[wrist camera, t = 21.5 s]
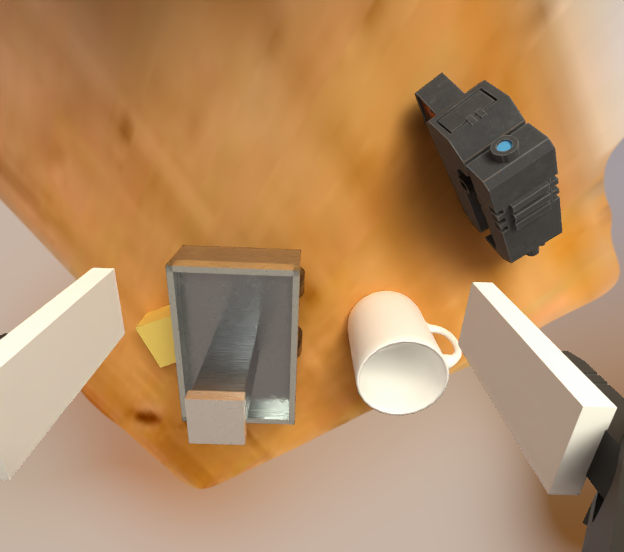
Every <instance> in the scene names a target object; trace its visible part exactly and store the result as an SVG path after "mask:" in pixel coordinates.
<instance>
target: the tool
mask: <svg viewBox="0 0 624 552" xmlns="http://www.w3.org/2000/svg"><path fill="white" fill-rule="evenodd" d="M415 96H416V99H417V102H418V105H419V107H420V110H421V113H422V115H423V118H424V121H425V124H426V126H427V128H428V130H429V132H430V134H431V137H432V139H433V141H434V143H435V146H436V148H437V150H438V152H439V155H440V157H441V159H442V161H443V164H444V166H445V168H446V170H447V173H448V175H449V177H450V179H451V182H452V184H453V186H454V188H455V191H456V193H457V195H458V197H459V200H460V202H461V204H462V206H463V209H464V211H465V213H466V215H467V217H468V218H469V220H470V221H471V223H472V224H473V225H474V226H475V227H476V228H477V230H478V231H479V232H480V233H482V232H483V231H485V230H486V229H488V228H490V231H491V234H490V235H489V236H487V237H486V240H487V241H488V242H489V243H490V244H491V245H492V247H493V248H494V249H495V250H496V251H497V252H498V253H499V254H500V256H501V257H502V258H503V259H505V260H507V261H508V262H510V263H513V262H514V261H516V260H517V259H519V258H521V257H522V256H524V255H528V256H535V255H537V254H538V253H539V246H540V245H541V246H543V245H545V242H547V241H549V240H550V239H552V238H554V237H555V236H557V235H558V234H560V233H562V222H561V209H560V197H558V196H557V195H556V194H558V193H559V188H558V187H556V186H555V185H556V184H558V178H557V177H556V176H555V175H556V174H558V171H557V162H556V152H555V147H554V145H553V144H552V142H551V141H550V139H549V138H548V137H547V136H546V135H544V134H543V133H541V132H540V131H539V130H537V129H536V128H535V127H533V126H532V125H531V124H529V123H527V124H526V123H525V120H524V118H523V116H522V115H521V113H520V112H519V110H518V109H517V107H516V106H515V104H514V103H513V101H512V100H511V98H510V97H509V96H508V95H507V94H505V93H504V92H502V91H500V90H499V89H497V88H496V87H494V86H493V85H491V84H490V83H488V82H487V81H485V80H484V81H482V82H480V83H479V84H477V85H476V86H475V87H473V88H472V89H471V90H469V91H468V92H467V93H463V92H462V91H461V90H460V89H459V88H458V87H457V86H456V85H455V84H454V83H453V82H452V81H451V80H449V79H448V78H447V77H446V76H445V75H444V74H443V73H441V74H439V75H438V76H437V77H436V78H434V79H433V80H432V81H430V82H429V83H428V84H426V85H425V86H424V87H422V88H421V89H420V90H419V91H417V92H416V93H415Z"/></svg>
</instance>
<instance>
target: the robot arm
mask: <svg viewBox="0 0 624 552" xmlns="http://www.w3.org/2000/svg"><path fill="white" fill-rule="evenodd" d="M124 334H125V331H124V325H123V319H122V312H121V306H120V300H119V294H118V288H117V282H116V276H115V270H114V268H92V269H91V270H89V271H88V272H87V273H86V274H84V275H83V276H82V277H80V278H79V279H78V280H77V281H75V282H74V283H73V284H71V285H70V286H69V287H68V288H66V289H65V290H64V291H62V292H61V293H60V294H59V295H57V296H56V297H55V298H54V299H52V300H51V301H50V302H48V303H47V304H46V305H44V306H43V307H42V308H41V309H39V310H38V311H37V312H35V313H34V314H33V315H32V316H30V317H29V318H28V319H26V320H25V321H24V322H23V323H21V324H20V325H19V326H17V327H16V328H15V329H14V330H12V331H11V332H10V333H5V334H3V335H0V480H10V479H11V478H12V477H13V475H14V474H15V473H16V471H17V470H18V469H19V468H20V467H21V465H22V464H23V463H24V462H25V460H26V459H27V458H28V456H29V455H30V454H31V453H32V451H33V450H34V449H35V448H36V446H37V445H38V444H39V442H40V441H41V440H42V439H43V437H44V436H45V435H46V434H47V432H48V431H49V430H50V428H51V427H52V426H53V425H54V423H55V422H56V421H57V420H58V418H59V417H60V416H61V414H62V413H63V412H64V411H65V409H66V408H67V407H68V406H69V404H70V403H71V402H72V400H73V399H74V398H75V397H76V395H77V394H78V393H79V392H80V390H81V389H82V388H83V386H84V385H85V384H86V383H87V381H88V380H89V379H90V378H91V376H92V375H93V374H94V372H95V371H96V370H97V369H98V367H99V366H100V365H101V364H102V362H103V361H104V360H105V358H106V357H107V356H108V355H109V353H110V352H111V351H112V350H113V348H114V347H115V346H116V345H117V343H118V342H119V341H120V339H121V338H122V337H123V336H124ZM458 346H459V347H460V349H461V351H462V352H463V354H464V356H465V357H466V359H467V361H468V362H469V364H470V366H471V367H472V369H473V370H474V372H475V374H476V375H477V377H478V379H479V380H480V382H481V384H482V385H483V387H484V389H485V390H486V392H487V393H488V395H489V397H490V399H491V400H492V402H493V403H494V405H495V407H496V408H497V410H498V412H499V413H500V415H501V417H502V418H503V420H504V422H505V423H506V425H507V427H508V428H509V430H510V431H511V433H512V435H513V436H514V438H515V440H516V441H517V443H518V445H519V446H520V448H521V450H522V451H523V453H524V455H525V456H526V458H527V460H528V461H529V463H530V464H531V466H532V468H533V469H534V471H535V473H536V474H537V476H538V478H539V479H540V481H541V483H542V484H543V486H544V488H545V489H546V491H547V492H548V494H562V495H579V494H580V491H581V489H582V487H583V484H584V482H585V480H586V478H587V477H588V479H589V480H590V481H591V483H592V484H593V485H594V487H595V488H596V490H597V493H596V495H595V497H594V499H593V502H592V504H591V506H590V508H589V510H588V513H587V514H586V517H585V519H584V521H583V523H584V524H586V525H587V530H586V534H585V539H584V544H583V548H582V552H624V398H623V397H622V396H621V395H620V394H619V393H618V392H617V391H615V390H614V389H613V388H612V387H611V386H610V385H607V382H606V381H605V380H604V379H603V378H602V377H601V376H599V375H597V372H595V371H594V370H593V369H592V368H591V367H590V366H589V365H588V364H587V363H586V362H585V361H583V360H581V359H580V358H578V357H577V356H575V355H573V354H572V353H570V352H568V351H560V350H559V349H558V348H557V347H556V346H555V345H554V344H553V343H552V342H551V341H550V340H549V339H548V338H547V337H546V336H545V335H544V334H543V333H542V332H541V331H540V330H539V329H538V328H537V327H536V326H535V325H534V324H533V323H532V322H531V321H530V320H529V319H528V318H527V317H526V316H525V315H524V314H523V313H522V312H521V311H520V310H519V309H518V308H517V307H516V306H515V305H514V304H513V303H512V302H511V301H510V300H509V299H508V298H507V297H506V296H505V295H504V294H503V293H502V292H501V291H500V290H499V289H498V288H497V287H496V286H495V285H494V284H493V283H486V282H472V284H471V289H470V293H469V298H468V302H467V307H466V311H465V316H464V320H463V325H462V329H461V334H460V339H459V343H458Z"/></svg>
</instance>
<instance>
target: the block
mask: <svg viewBox="0 0 624 552" xmlns="http://www.w3.org/2000/svg"><path fill="white" fill-rule="evenodd" d="M135 329H136V330H137V332H138V333H139V335H140V337H141V338H142V340H143V341H144V343H145V344H146V346H147V348H148V349H149V351H150V352H151V354H152V355H153V357H154V358H155V360H156V362H157V363H158V365H159V366H160V368H161V367H164V366H167V365H170V364H173V363H176V358H175V349H174V339H173V330H172V321H171V312H170V305H167V306H164V307H161V308H159V309H156V310H153V311H150V312H147V313H146V315H145V316H144V317H143V319H142V320H141V321H140V323H139V324H138V325H137V327H136V328H135Z"/></svg>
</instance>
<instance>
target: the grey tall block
mask: <svg viewBox="0 0 624 552" xmlns="http://www.w3.org/2000/svg"><path fill="white" fill-rule="evenodd" d="M257 364H258V327H233V326H218V327H217V329H216V332H215V334H214V337H213V339H212V342H211V344H210V347H209V349H208V351H207V354H206V356H205V359H204V361H203V364H202V366H201V369H200V371H199V374H198V376H197V379H196V381H195V384H194V386H193V389H192V390H188V392H187V394H186V397H185V409H186V419H187V429H188V439H189V443H197V444H232V445H245V441H246V436H247V432H246V421H247V416H248V411H249V405H250V400H251V395H252V390H253V385H254V380H255V375H256V370H257Z"/></svg>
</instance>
